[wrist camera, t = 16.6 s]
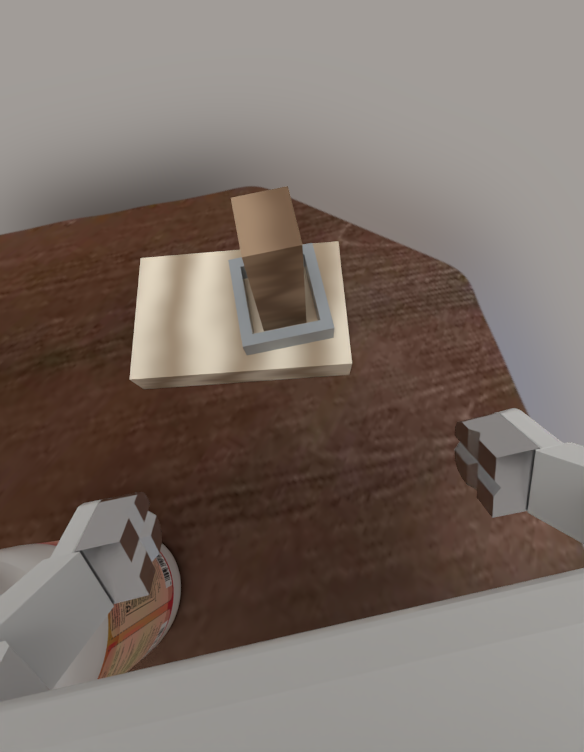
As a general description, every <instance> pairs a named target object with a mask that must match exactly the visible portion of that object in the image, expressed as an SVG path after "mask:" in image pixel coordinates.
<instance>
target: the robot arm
mask: <svg viewBox="0 0 584 752" xmlns="http://www.w3.org/2000/svg"><path fill="white" fill-rule="evenodd" d="M455 436H456V438H457V439H458V440H459V441H460V442H459V444H458V445H457V447H456V448H455V462H456V465H457V469H458V471H459V473H460V475H461V477H462V479H463V480H464V481H465V483H466V484H467V485H469V486H471V487H473V488H475V489H477V499H478V500H479V501H480V502H481V504H482V505H483V506H484V507H485V509H486V510H487V511H488V513H489V514H490V515H491V516H492V518H493V517H498V516H503V515H508V514H513V513H518V512H523V511H528V513H529V514H531V515H533V516H535V517H537V518H538V519H540V520H542V521H544V522H545V523H547V524H549V525H551V526H553V527H554V528H556V529H558V530H560V531H561V532H563V533H565V534H567V535H569V536H570V537H572V538H574V539H576V540H578V541H579V542H581V543H583V544H584V446H581V445H577V444H574V443H571V442H569V443H562V442H561V441H560V440H558V439H557V438H556V437H554V436H553V435H552V434H551V433H549V432H548V431H547V430H545V429H544V428H543V427H541V426H540V425H539V424H537V423H536V422H535V421H534V420H532V419H531V418H530V417H528V416H527V415H526V414H525V413H523V412H522V411H521V410H519V409H515V408H513V409H509V410H505V411H501V412H497V413H495V414H491V415H486V416H482V417H477V418H473V419H468V420H464V421H460V422H457V423H456V426H455ZM149 505H150V501H149V499H148V498H147V496H146V494H145V493H143V492H136V493H131V494H126V495H121V496H116V497H111V498H106V499H102V500H97V501H92V502H87V503H83V504H82V505H80V506H79V507H78V508H77V510H76V511H75V513H74V515H73V517H72V519H71V521H70V522H69V524H68V526H67V528H66V530H65V531H64V533H63V535H62V537H61V539H60V541H59V542H58V544H57V546H56V548H55V550H54V551H53V553H52V555H51V557H50V558H48V559H44V560H42V561H41V562H40V563H39V564H38V565H36V566H35V567H34V568H33V569H32V570H30V571H29V572H28V573H27V574H26V575H25V576H23V577H22V578H21V579H20V580H19V581H18V582H16V583H15V584H14V585H13V586H12V587H10V588H9V589H8V590H7V591H6V592H5V593H3V594H2V595H1V596H0V752H584V568H581V569H577V570H573V571H568V572H564V573H560V574H555V575H551V576H546V577H542V578H538V579H533V580H529V581H525V582H520V583H516V584H511V585H507V586H503V587H498V588H494V589H490V590H485V591H481V592H477V593H472V594H468V595H464V596H459V597H455V598H451V599H446V600H442V601H438V602H433V603H429V604H425V605H420V606H416V607H411V608H407V609H403V610H398V611H394V612H390V613H385V614H381V615H377V616H372V617H368V618H363V619H359V620H355V621H350V622H346V623H342V624H337V625H333V626H328V627H324V628H320V629H315V630H311V631H307V632H302V633H298V634H293V635H289V636H285V637H280V638H276V639H272V640H267V641H263V642H258V643H254V644H250V645H245V646H241V647H237V648H232V649H228V650H223V651H219V652H215V653H210V654H206V655H202V656H197V657H193V658H189V659H184V660H180V661H175V662H171V663H167V664H162V665H158V666H154V667H149V668H145V669H141V670H136V671H132V672H127V673H123V674H119V675H114V676H110V677H106V678H101V679H97V680H93V681H88V682H84V683H79V684H75V685H71V686H66V687H62V688H58V689H53V688H54V686H55V685H56V684H57V682H58V681H59V680H60V678H61V677H62V676H63V674H64V673H65V671H66V670H67V669H68V667H69V666H70V665H71V663H72V662H73V661H74V659H75V658H76V657H77V655H78V654H79V653H80V651H81V650H82V649H83V647H84V646H85V645H86V643H87V642H88V640H89V639H90V638H91V636H92V635H93V634H94V632H95V631H96V630H97V628H98V627H99V626H100V624H101V623H102V622H103V620H104V619H105V618H106V616H107V615H108V614H109V612H110V611H111V609H112V608H113V607H114V605H113V604H116V603H120V602H124V601H128V600H132V599H136V598H140V597H143V596H147V595H149V594H150V590H151V586H152V582H153V578H154V574H155V570H156V569H155V567H154V565H153V563H152V562H153V561H154V559H155V558H156V557H157V556H158V555H159V554H160V549H161V545H162V531H161V526H160V523H159V520H158V518H157V516H156V515H154V514H153V513H151V512H149V511H148V509H149ZM52 689H53V690H52Z"/></svg>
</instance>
